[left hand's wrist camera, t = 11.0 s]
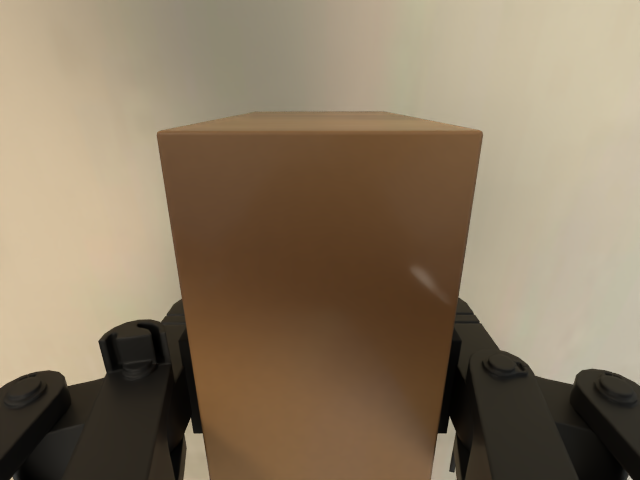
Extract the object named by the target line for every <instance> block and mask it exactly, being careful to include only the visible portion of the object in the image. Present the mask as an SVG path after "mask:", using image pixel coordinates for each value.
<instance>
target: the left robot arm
mask: <svg viewBox="0 0 640 480" xmlns="http://www.w3.org/2000/svg"><path fill="white" fill-rule="evenodd" d="M98 342H99V346H100V349H101V353H102V357H103V361H104V365H105V368H106V372H107V373H106V376H105V378H102V379H98V380H94V381H90V382H85V383H80V384H76V385H71V386H67V383H66V380H65V377H64V376H63V375H62V374H61V373H59V372H56V371H50V370H48V371H40V372H34V373H30V374H28V375H24V376H21V377H19V378H17V379H15V380H13V381H11V382H9V383H7V384H6V385H4V386H3V387H1V388H0V480H10V479H11V477H13V479H14V480H183V477H184V468H185V459H186V449H187V448H186V441H185V435H184V433H185V430H186V428H187V425H188V423H189V420H190V418H191V420H192V426H193V432H194V433H203V431H202V424H201V418H200V411H199V405H198V398H197V392H196V385H195V379H194V373H193V366H192V360H191V353H190V347H189V340H188V334H187V327H186V321H185V314H184V308H183V301H182V299H181V300H179V301H178V302H176V303H175V304H174V305H173V306H172V308H171V309H170V311H169V312H168V313H167V316H165V318H164V319H163V320H162V322H161V323H160V322H159V321H155V320H136V321H131V322H127V323H124V324H122V325H119V326H117V327H114V328H113V329H111V330H110V331H108V332H107V333H105V334H104V335H103V336H102V338H101V339H100V340H99V341H98ZM449 416H450V418H451V420H452V423H453V425H454V428H455V430H456V435H455V441H454V446H453V452H452V457H451V463H450V470H449V471H450V472H454V471H455V467H456V476H457V480H627V478H628V475H629V476H630V477H631V478H632V479H633V480H640V386H639V385H638V384H636V383H635V382H633V381H631V380H629V379H627V378H625V377H623V376H621V375H619V374H616V373H612V372H609V371H605V370H598V369H588V370H582V371H581V372H579V373H578V374H577V375H576V378H575V381H574V384H573V385H572V384H567V383H563V382H558V381H553V380H549V379H544V378H541V377H537V376H535V375H534V373H533V371H532V370H531V368H530V367H529V366H528V364H526V363H525V362H524V361H522V360H521V359H520V358H518V357H516V356H514V355H512V354H510V353H508V352H505V351H501V350H499V348H498V347H497V345H496V344H495V342H494V341H493V340H492V338H491V337H490V335H489V334H488V333H487V331H486V330H485V328H484V327H483V326H482V324H480V321H479V320H478V319H477V317H476V316H475V315H474V313H473V311H472V310H471V309H470V307H469V306H468V304H467V303H466V302H464V301H463V300H461V299H460V298H458V303H457V309H456V316H455V322H454V329H453V335H452V342H451V349H450V355H449V362H448V368H447V375H446V382H445V388H444V395H443V401H442V408H441V414H440V421H439V428H438V433H447V428H448V422H449Z"/></svg>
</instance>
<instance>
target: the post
mask: <svg viewBox="0 0 640 480" xmlns="http://www.w3.org/2000/svg"><path fill="white" fill-rule="evenodd" d="M482 138H483V132H482V131H480V130H475V129H470V128H465V127H460V126H455V125H450V124H445V123H440V122H435V121H430V120H425V119H420V118H414V117H409V116H404V115H399V114H394V113H389V112H251V113H246V114H241V115H236V116H231V117H226V118H221V119H216V120H211V121H206V122H201V123H196V124H191V125H186V126H181V127H176V128H171V129H166V130H161V131H159V132H157V140H158V146H159V153H160V159H161V165H162V172H163V178H164V185H165V191H166V198H167V204H168V211H169V217H170V224H171V230H172V237H173V243H174V250H175V256H176V263H177V269H178V275H179V282H180V288H181V295H182V301H183V308H184V314H185V321H186V327H187V334H188V340H189V347H190V353H191V360H192V366H193V373H194V379H195V385H196V392H197V398H198V405H199V411H200V418H201V424H202V431H203V437H204V444H205V450H206V457H207V463H208V470H209V476H210V480H431V474H432V467H433V461H434V454H435V447H436V441H437V434H438V428H439V421H440V414H441V408H442V401H443V395H444V388H445V382H446V375H447V368H448V362H449V355H450V349H451V342H452V335H453V329H454V322H455V316H456V309H457V303H458V296H459V289H460V283H461V276H462V270H463V263H464V257H465V250H466V243H467V237H468V230H469V224H470V217H471V210H472V204H473V197H474V191H475V184H476V178H477V171H478V164H479V158H480V151H481V145H482Z"/></svg>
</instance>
